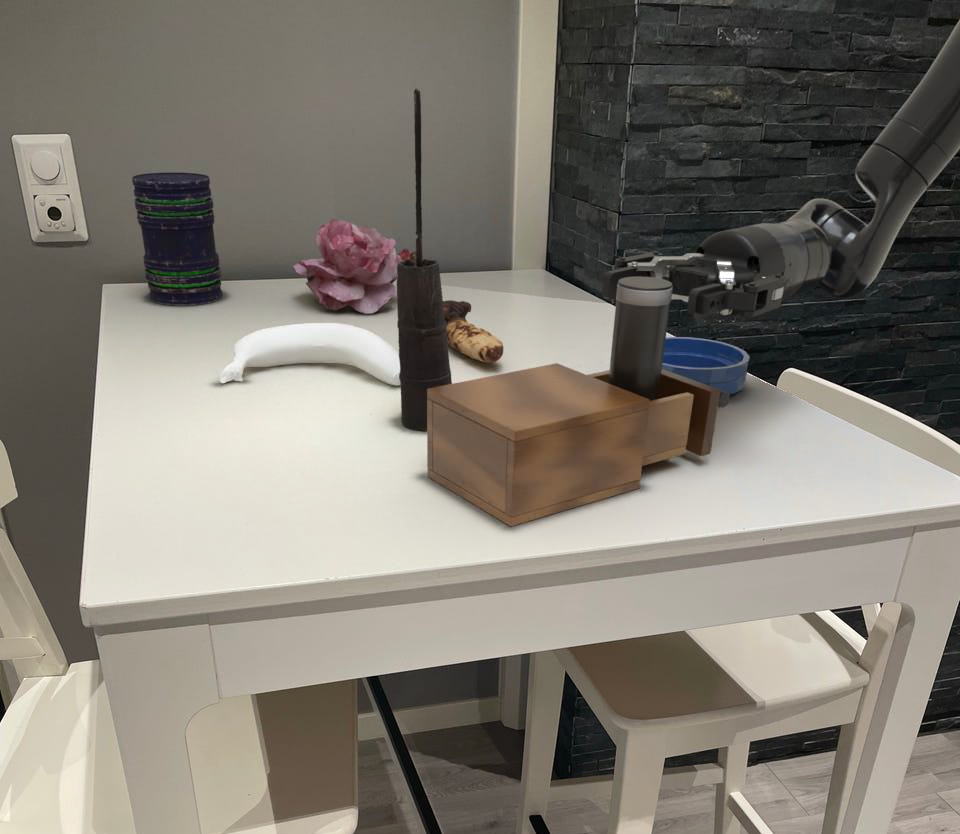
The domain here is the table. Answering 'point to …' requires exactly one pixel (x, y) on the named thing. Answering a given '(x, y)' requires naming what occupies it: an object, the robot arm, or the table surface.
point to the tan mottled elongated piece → (469, 334)
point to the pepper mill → (640, 334)
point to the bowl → (707, 362)
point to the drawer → (679, 417)
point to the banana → (315, 350)
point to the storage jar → (178, 237)
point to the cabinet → (535, 441)
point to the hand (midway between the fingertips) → (647, 295)
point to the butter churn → (420, 317)
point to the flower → (352, 267)
